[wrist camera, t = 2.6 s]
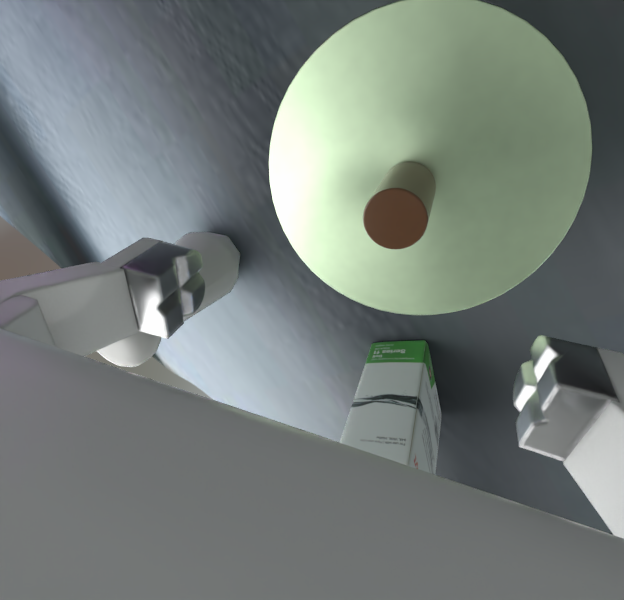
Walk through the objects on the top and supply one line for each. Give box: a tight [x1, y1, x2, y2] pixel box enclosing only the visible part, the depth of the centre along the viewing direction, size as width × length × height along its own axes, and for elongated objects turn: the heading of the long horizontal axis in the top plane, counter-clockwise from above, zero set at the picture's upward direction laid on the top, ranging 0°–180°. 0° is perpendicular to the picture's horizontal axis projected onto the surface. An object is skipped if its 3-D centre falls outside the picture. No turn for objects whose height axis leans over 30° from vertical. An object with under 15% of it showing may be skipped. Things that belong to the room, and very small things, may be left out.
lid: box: [269, 0, 592, 315], centre depth 16 cm, size 14×14×5 cm
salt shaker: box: [97, 232, 241, 367], centre depth 29 cm, size 6×6×13 cm
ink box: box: [340, 340, 441, 475], centre depth 30 cm, size 9×5×12 cm, turn 17°
